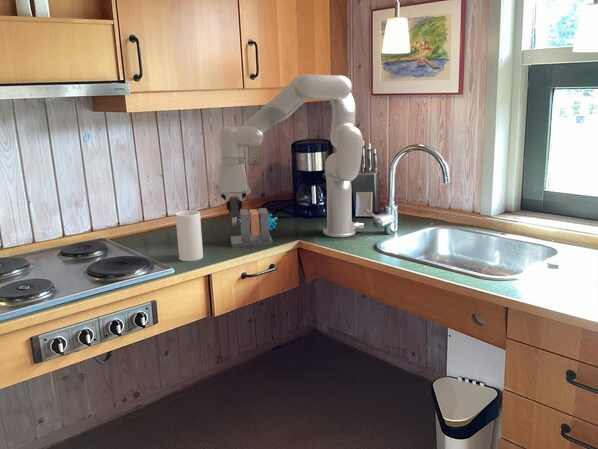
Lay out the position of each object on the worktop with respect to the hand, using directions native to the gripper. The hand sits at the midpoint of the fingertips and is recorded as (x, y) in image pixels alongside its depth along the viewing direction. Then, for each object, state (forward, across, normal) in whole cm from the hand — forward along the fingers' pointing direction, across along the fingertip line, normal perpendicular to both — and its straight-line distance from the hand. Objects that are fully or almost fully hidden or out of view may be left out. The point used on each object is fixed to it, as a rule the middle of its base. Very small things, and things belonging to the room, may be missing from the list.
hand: (234, 210), depth 204 cm
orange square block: (+5, -7, 0) cm, 8 cm away
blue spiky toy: (+13, -13, -18) cm, 26 cm away
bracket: (+13, -6, 0) cm, 14 cm away
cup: (+13, +16, +13) cm, 25 cm away
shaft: (+6, -5, 0) cm, 7 cm away
